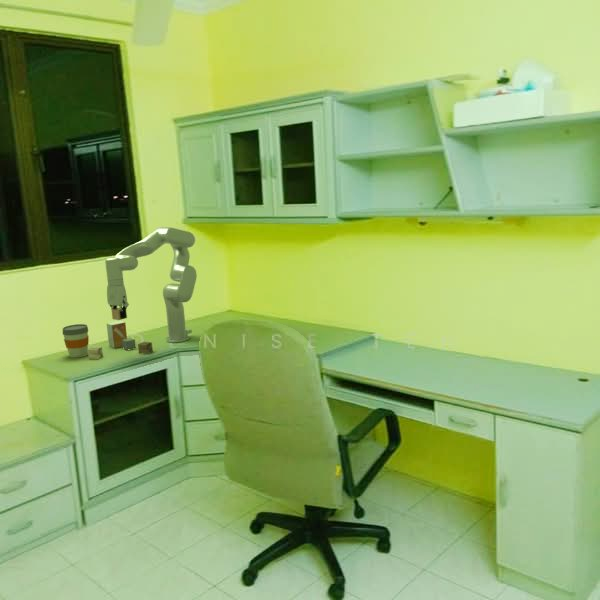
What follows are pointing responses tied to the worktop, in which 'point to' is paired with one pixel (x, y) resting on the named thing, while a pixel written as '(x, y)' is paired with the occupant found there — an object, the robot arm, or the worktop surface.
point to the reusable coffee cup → (76, 339)
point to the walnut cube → (145, 347)
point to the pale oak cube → (95, 352)
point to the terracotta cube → (117, 314)
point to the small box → (116, 333)
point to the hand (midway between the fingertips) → (119, 317)
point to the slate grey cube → (128, 343)
